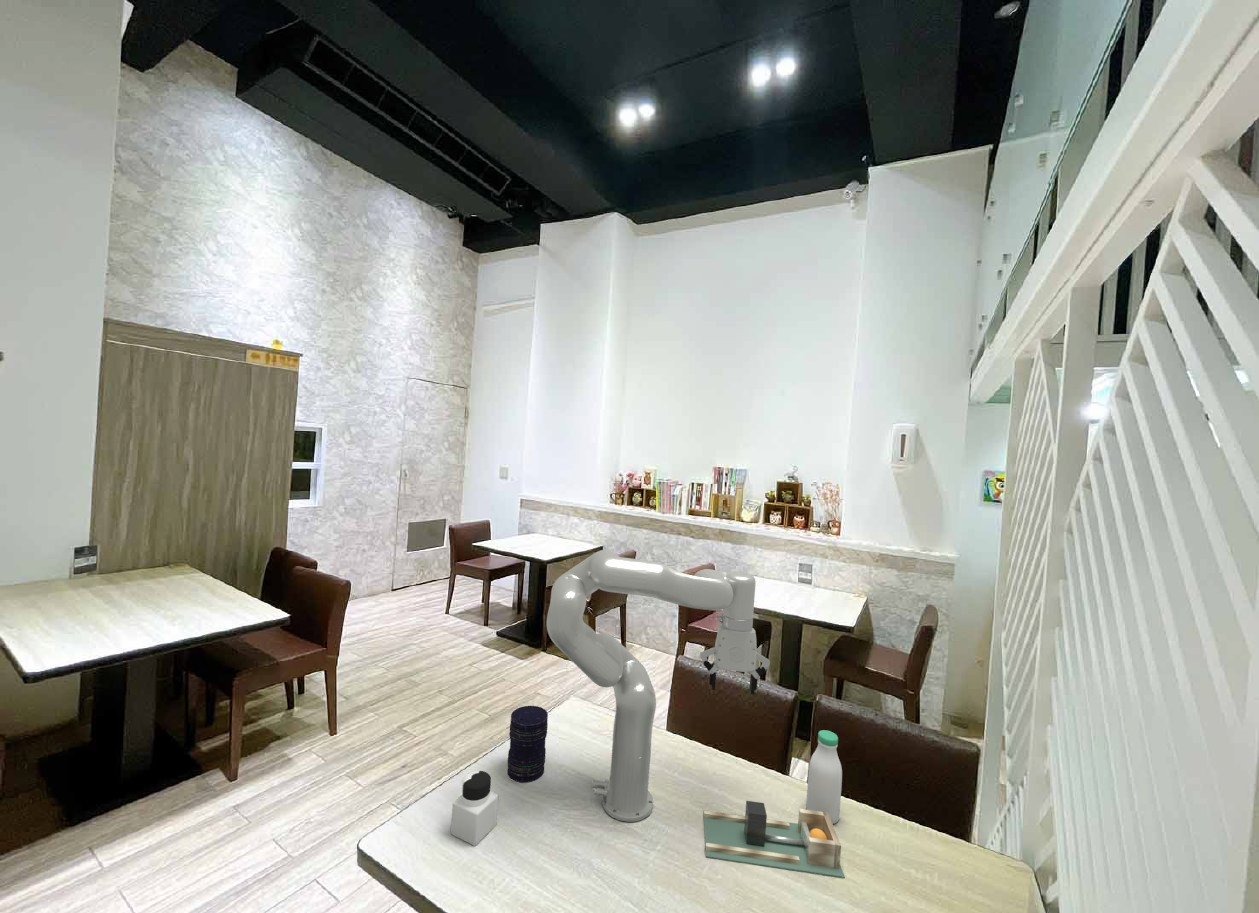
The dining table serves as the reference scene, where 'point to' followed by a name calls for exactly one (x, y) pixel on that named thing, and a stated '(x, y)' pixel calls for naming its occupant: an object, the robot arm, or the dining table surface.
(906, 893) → the dining table surface
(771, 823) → the rails
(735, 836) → the mat
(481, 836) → the medicine bottle
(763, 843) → the kicker
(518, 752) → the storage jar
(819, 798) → the milk bottle
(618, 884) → the dining table surface
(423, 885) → the dining table surface
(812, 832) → the ball
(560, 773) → the dining table surface
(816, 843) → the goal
